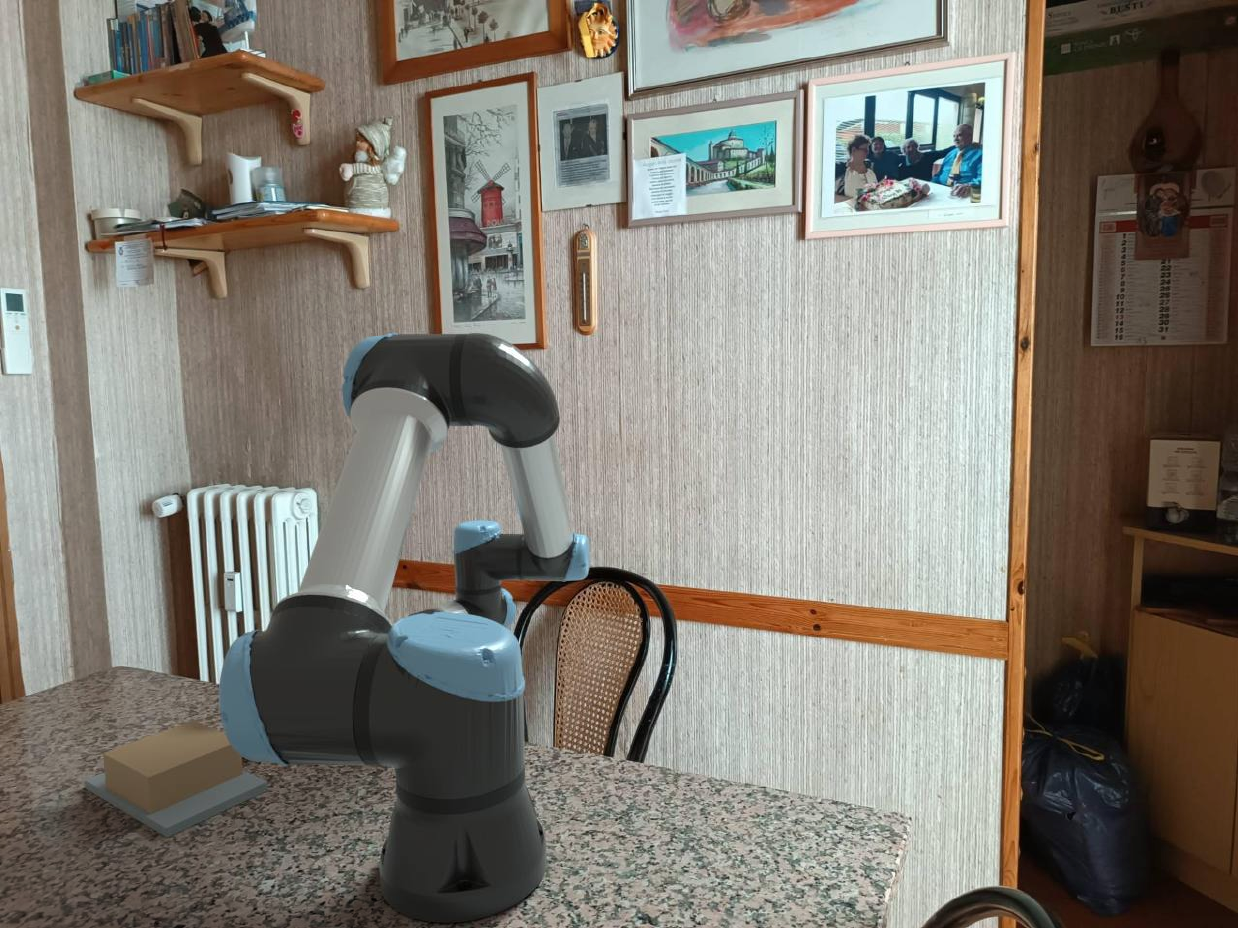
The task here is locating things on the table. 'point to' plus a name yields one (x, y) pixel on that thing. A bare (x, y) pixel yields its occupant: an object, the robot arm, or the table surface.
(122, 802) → the plinth
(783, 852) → the table surface
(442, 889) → the robot arm
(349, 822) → the table surface
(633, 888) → the table surface
